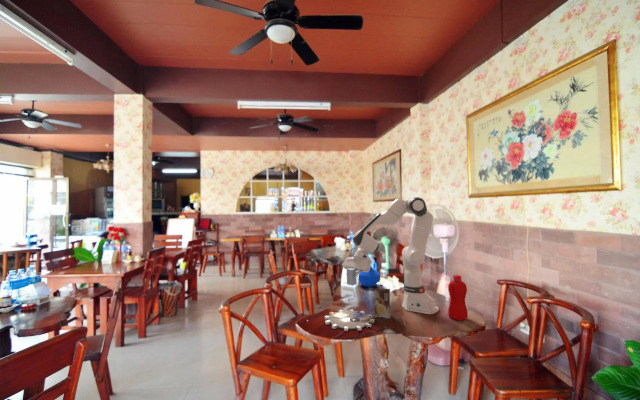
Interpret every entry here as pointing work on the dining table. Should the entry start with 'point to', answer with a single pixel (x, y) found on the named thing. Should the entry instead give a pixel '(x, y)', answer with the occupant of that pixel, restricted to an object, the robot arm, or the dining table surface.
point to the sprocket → (349, 320)
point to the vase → (369, 278)
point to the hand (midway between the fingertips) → (351, 275)
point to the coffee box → (382, 302)
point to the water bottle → (457, 299)
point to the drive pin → (351, 276)
